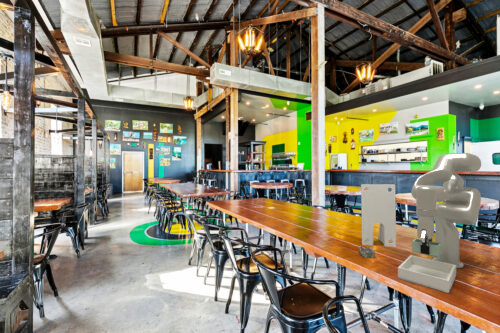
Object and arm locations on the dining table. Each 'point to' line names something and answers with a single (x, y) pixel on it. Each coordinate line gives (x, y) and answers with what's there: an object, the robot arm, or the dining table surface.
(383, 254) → the dining table surface
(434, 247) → the small crate
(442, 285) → the light grey tray
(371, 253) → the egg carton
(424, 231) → the robot arm
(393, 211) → the notched grey plate
